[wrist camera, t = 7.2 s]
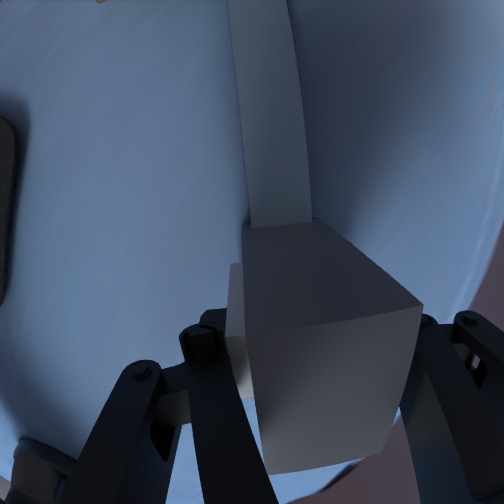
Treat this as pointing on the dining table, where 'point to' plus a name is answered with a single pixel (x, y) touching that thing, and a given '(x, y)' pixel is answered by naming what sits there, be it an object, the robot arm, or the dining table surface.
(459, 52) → the dining table surface
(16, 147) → the sushi plate
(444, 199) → the dining table surface
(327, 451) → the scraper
